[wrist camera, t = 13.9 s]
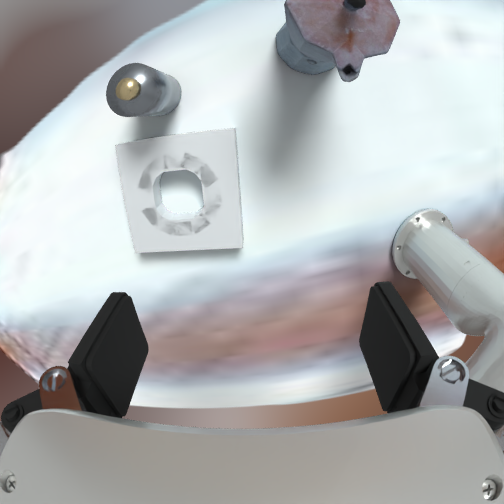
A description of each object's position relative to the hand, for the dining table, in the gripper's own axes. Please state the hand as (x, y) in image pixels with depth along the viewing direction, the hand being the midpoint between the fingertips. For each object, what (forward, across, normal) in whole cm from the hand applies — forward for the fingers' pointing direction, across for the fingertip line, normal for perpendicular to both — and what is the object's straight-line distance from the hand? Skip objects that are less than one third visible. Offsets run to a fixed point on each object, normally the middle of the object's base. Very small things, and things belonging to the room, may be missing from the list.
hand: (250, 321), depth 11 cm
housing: (+30, +10, +2) cm, 32 cm away
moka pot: (+31, -8, -18) cm, 36 cm away
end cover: (+30, +12, -12) cm, 35 cm away
